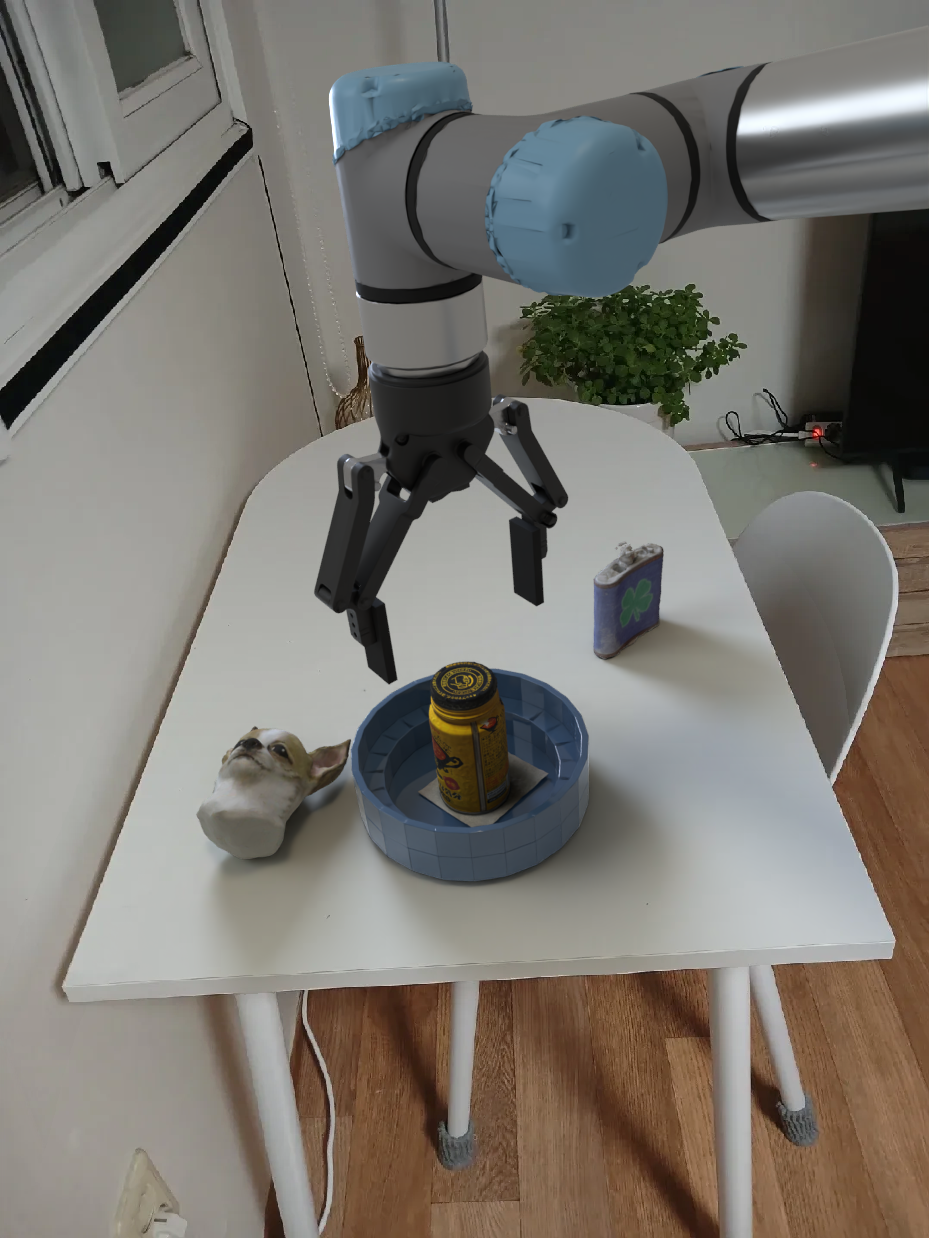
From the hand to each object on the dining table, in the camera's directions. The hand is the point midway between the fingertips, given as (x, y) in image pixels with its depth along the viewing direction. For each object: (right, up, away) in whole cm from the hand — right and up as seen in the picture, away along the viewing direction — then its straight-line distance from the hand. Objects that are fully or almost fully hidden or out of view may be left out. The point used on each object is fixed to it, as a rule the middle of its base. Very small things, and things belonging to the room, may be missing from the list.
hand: (459, 634), depth 71 cm
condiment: (+2, -13, +10) cm, 17 cm away
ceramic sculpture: (-16, -15, +11) cm, 24 cm away
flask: (+17, -1, +26) cm, 31 cm away
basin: (+1, -14, +10) cm, 17 cm away
